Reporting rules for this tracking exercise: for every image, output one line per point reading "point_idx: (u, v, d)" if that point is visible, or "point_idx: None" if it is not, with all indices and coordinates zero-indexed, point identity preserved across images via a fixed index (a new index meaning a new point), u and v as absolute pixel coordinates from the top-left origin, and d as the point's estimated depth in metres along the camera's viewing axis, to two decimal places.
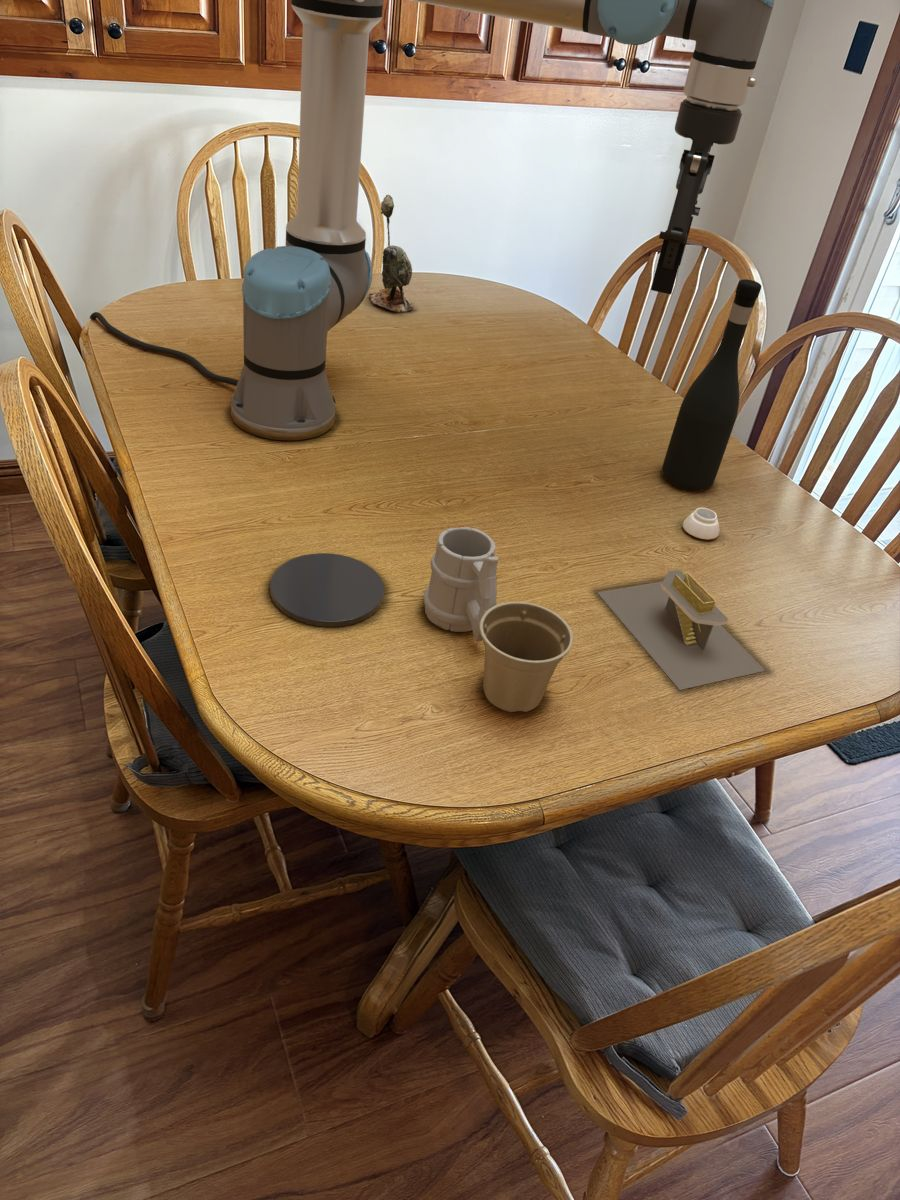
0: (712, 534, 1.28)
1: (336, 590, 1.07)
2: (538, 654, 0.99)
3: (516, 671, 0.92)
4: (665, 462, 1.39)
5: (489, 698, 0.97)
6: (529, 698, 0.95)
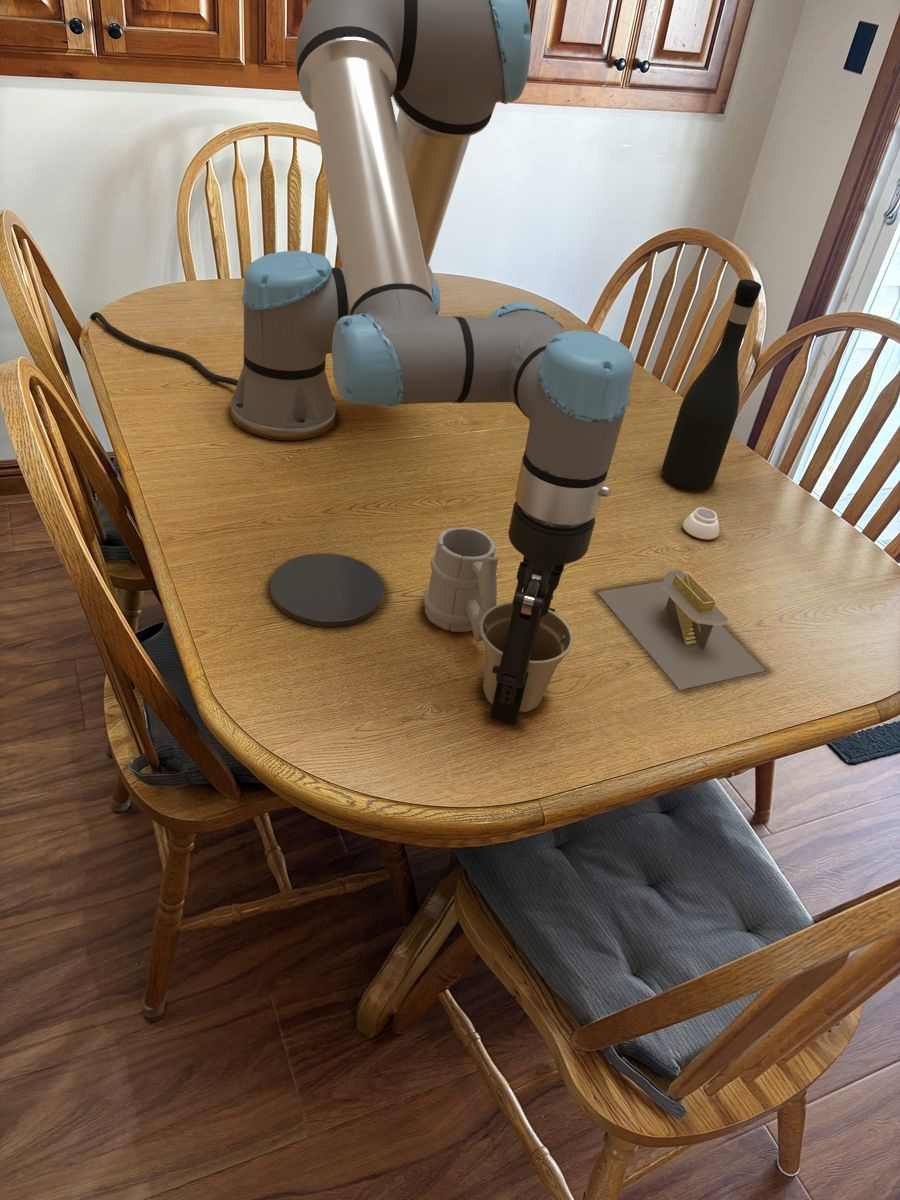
0: (712, 534, 1.28)
1: (336, 590, 1.07)
2: (538, 654, 0.99)
3: None
4: (665, 462, 1.39)
5: (489, 698, 0.97)
6: (529, 698, 0.95)
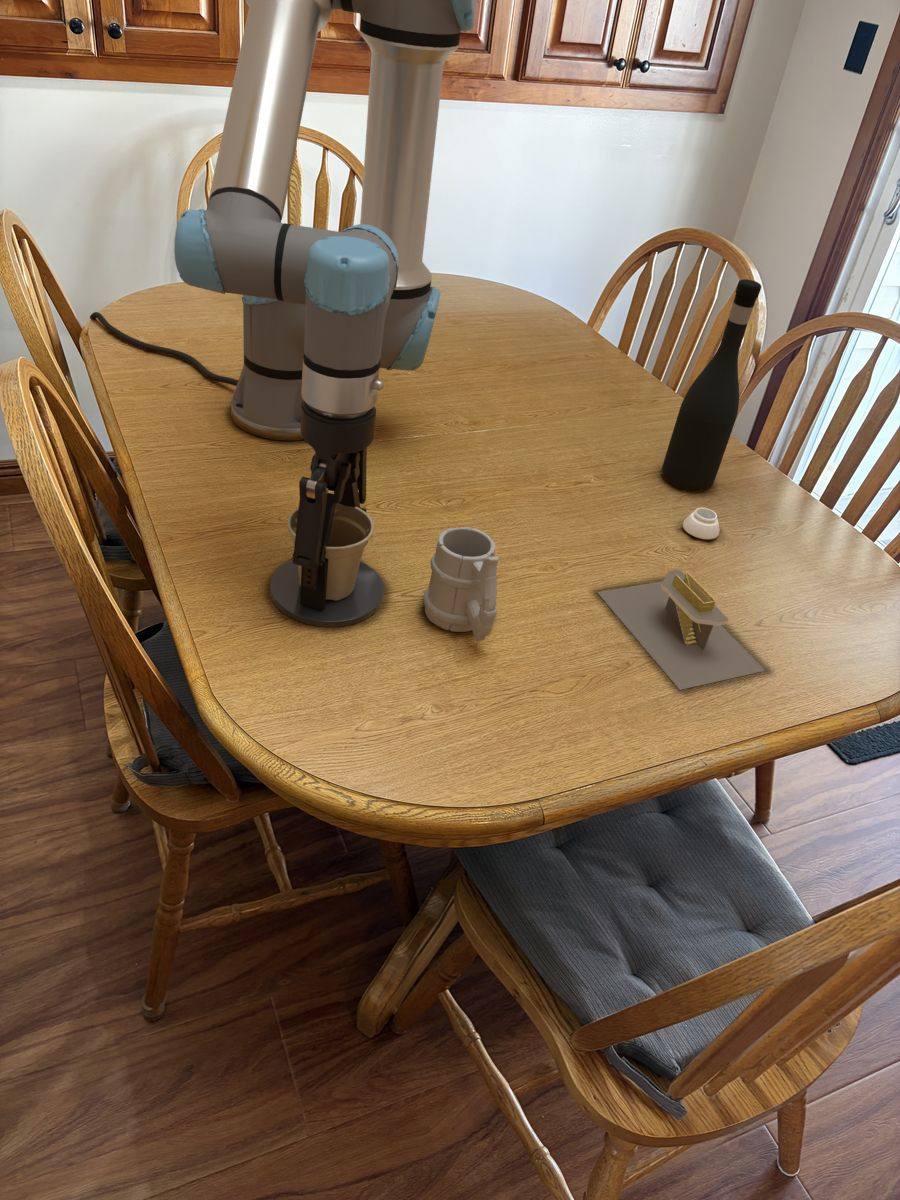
0: (712, 534, 1.28)
1: None
2: None
3: None
4: (665, 462, 1.39)
5: None
6: (336, 586, 1.04)
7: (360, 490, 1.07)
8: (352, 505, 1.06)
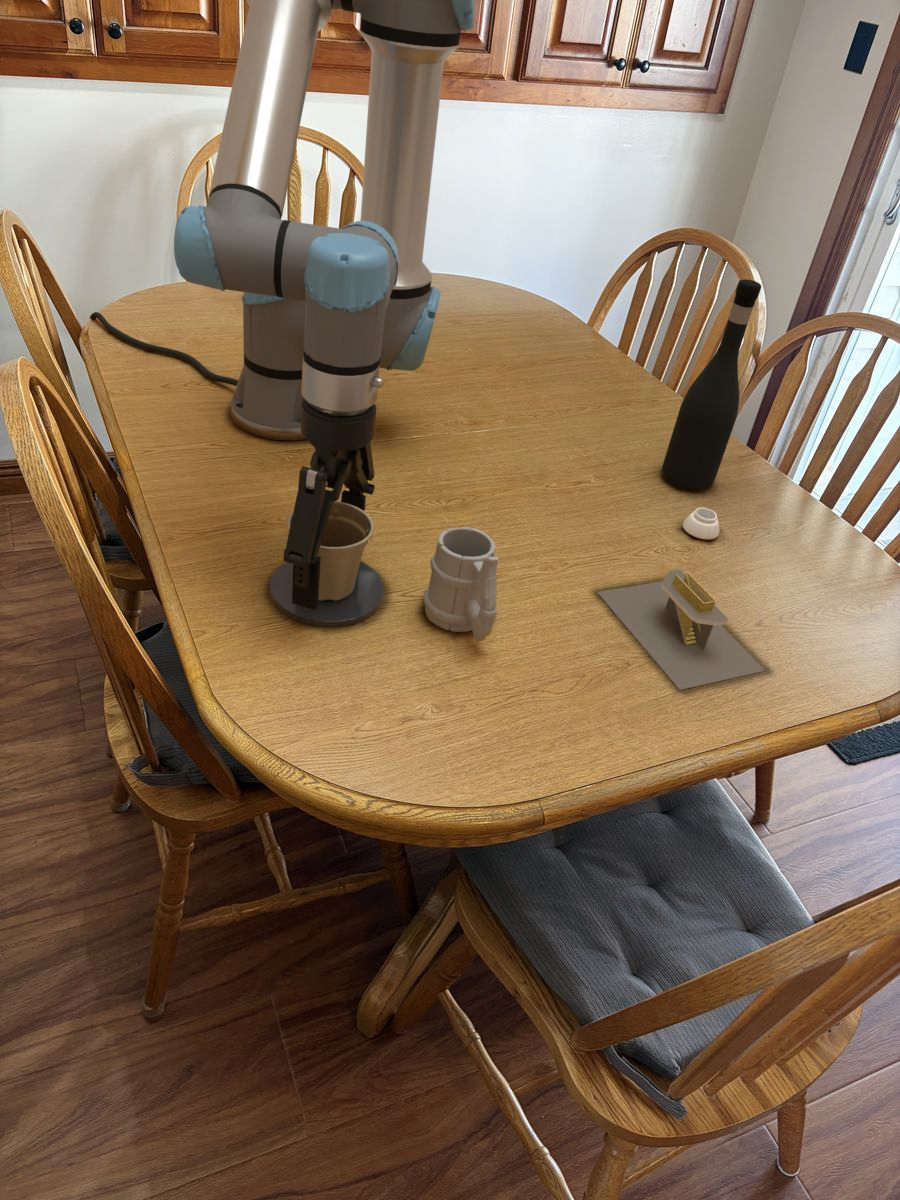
0: (712, 534, 1.28)
1: None
2: None
3: None
4: (665, 462, 1.39)
5: None
6: (336, 586, 1.04)
7: (367, 471, 1.07)
8: (359, 486, 1.06)
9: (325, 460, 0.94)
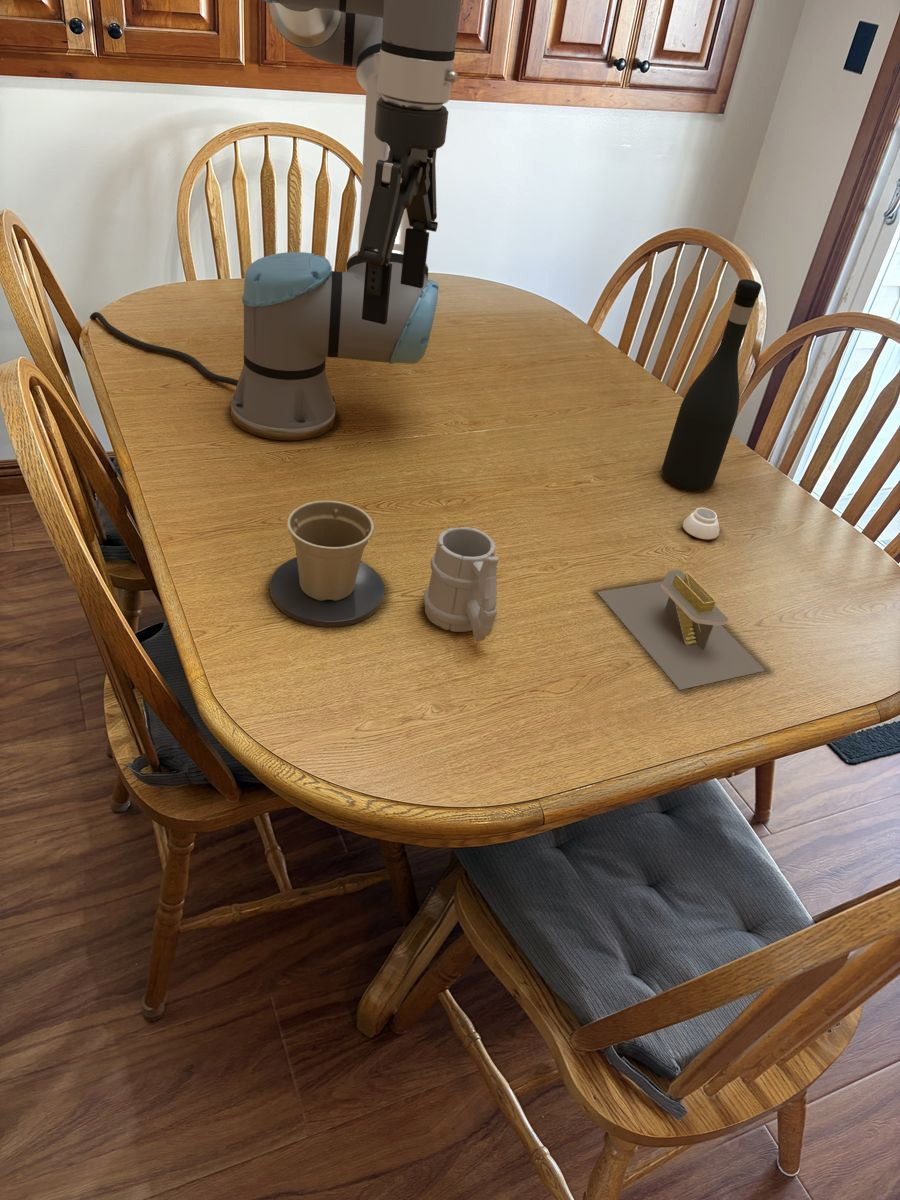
0: (712, 534, 1.28)
1: None
2: None
3: (318, 559, 1.01)
4: (665, 462, 1.39)
5: (302, 588, 1.06)
6: (336, 586, 1.04)
7: (431, 206, 1.11)
8: (424, 219, 1.09)
9: (399, 159, 0.97)
